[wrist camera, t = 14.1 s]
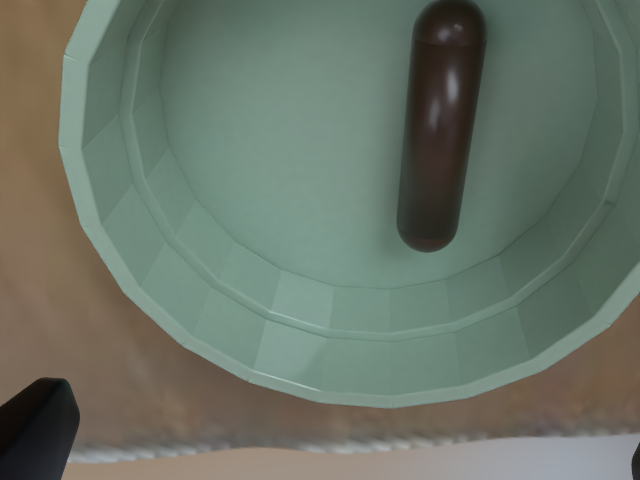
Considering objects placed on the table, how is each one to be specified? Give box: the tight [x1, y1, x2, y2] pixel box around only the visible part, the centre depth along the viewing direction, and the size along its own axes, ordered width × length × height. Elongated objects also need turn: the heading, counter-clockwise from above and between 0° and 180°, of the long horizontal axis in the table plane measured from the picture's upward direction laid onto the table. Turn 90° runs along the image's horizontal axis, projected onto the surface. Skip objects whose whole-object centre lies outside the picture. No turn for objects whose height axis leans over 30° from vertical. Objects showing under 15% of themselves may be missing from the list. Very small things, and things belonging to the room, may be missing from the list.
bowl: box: [58, 0, 640, 408], centre depth 17 cm, size 15×15×6 cm
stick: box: [396, 0, 488, 253], centre depth 17 cm, size 2×8×2 cm
